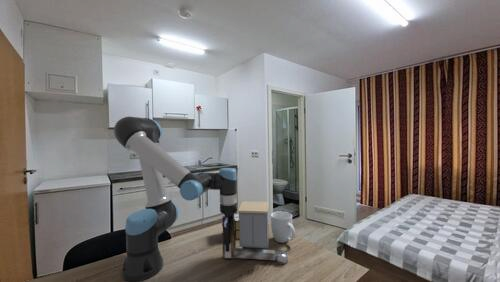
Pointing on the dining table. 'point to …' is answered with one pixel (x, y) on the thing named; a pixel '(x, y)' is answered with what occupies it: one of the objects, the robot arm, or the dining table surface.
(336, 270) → the dining table surface
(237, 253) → the tan block on post
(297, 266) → the dining table surface
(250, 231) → the grey cabinet
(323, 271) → the dining table surface
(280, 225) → the mug
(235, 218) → the puzzle cube
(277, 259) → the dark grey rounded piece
